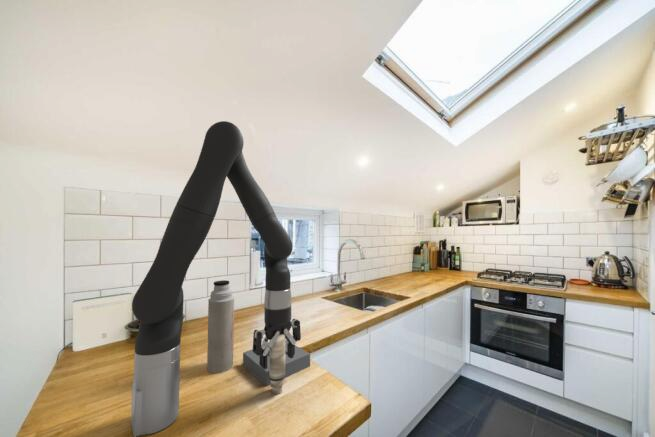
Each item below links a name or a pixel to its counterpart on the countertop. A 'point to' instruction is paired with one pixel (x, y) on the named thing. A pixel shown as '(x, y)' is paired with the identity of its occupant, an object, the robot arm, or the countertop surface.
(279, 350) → the ash peg
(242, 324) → the countertop surface
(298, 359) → the gray board
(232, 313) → the thermos bottle
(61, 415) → the countertop surface
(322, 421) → the countertop surface
